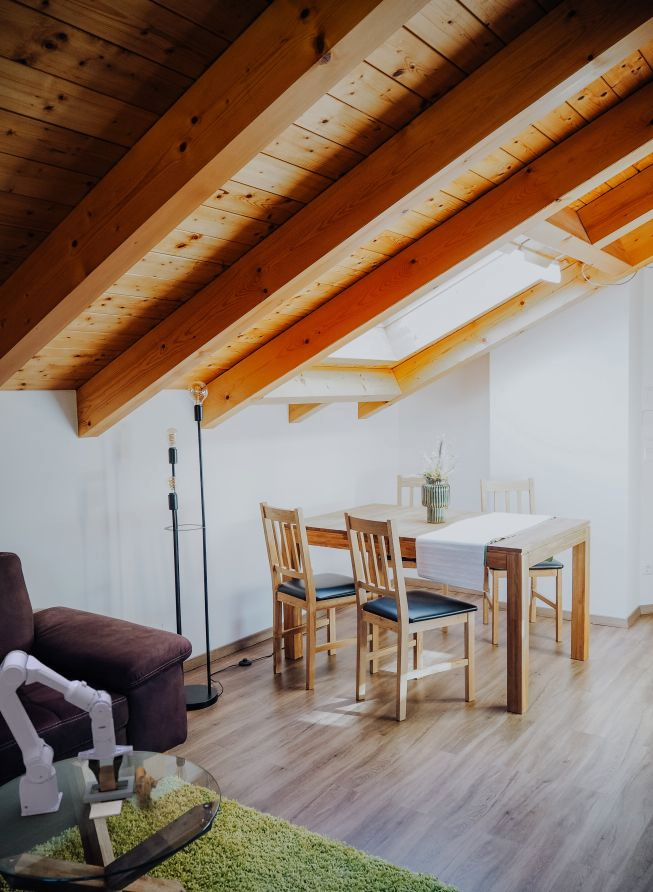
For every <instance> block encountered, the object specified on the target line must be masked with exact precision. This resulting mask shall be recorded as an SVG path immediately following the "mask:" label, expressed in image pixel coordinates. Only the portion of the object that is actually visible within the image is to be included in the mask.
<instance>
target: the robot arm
mask: <svg viewBox="0 0 653 892" xmlns="http://www.w3.org/2000/svg"><path fill="white" fill-rule="evenodd" d="M24 682H25V684H24V685H25V686H26V685H27V686H28V685H30V684H33V683H36V682H38V683H40V684H42V685H45V686H47V687H49V688H50V689H53V690H55V691H57V692H59V693H61V694H63V696H64V700H65V701H67V702H69V703H71V704H72V705H74V706H76V707H77V708H79V709H81V710H83V711H85V712H88V714H89V715H88V716H89V718H90V719H91V732H92V739H93V741H92V743H93V748H90V749H88V750H84V751H80V752H78V755H77V760H78V761H77V762H78V763H83V761H84V762H85V761H88V764H87V767H88V769H89V770H90V771H91V772H92V774H93V775H94V777H95V778H96V781H97V782H98V784H100V780H99V772H100V768H101V761H103V760H109V759H112V758H113V760H112V765H113V766H114V771H115V782H118V779H119V778H120V775H119V774H120V769H121V766H122V763H123V759H124V756H128V757H132V756H133V754H134V749H133V745H116V735H115V727H114V719H113V709H112V697H111V695H110V694H109V693H108V692H107V691H106V690H96V689H94V688H92V687H91V686H89V685H87V682H86V681H84V680H82V681H79V680H72V681H71V680H68V679H67V678H65V677H64V676H62V675H61V674H59V673H57V672H56V671H54V670H53V669H51V668H50V667H48V666H46V665H45V664H43V663H42V662H40V660H38V659H37V658H36V657H34V656H33V655H31V654H30V655H29V654H27V653H26V652H25V651H22V650H12V651H10V652H9V653H8V654H6V656H5V657H4V659H3V661H2V663H1V664H0V712H1V714H2V716H3V718H4V720H5V722H6V723H7V726H8V727H9V729H10V731H11V734H12V735H13V737H14V740H15V741H16V742H17V744H18V747H19V748H20V750H21V753H22V758H23V764H24V766H25V768H26V772H25V775H24V776H21V778H20V781H19V786H18V787H19V788H18V789H19V790H18V791H19V792H18V794H19V801H20V807H21V808H20V809H21V814H20V815H21V817H26V816H33V815H40V814H49V813H54V812H57V811H59V809H60V804H61V802H62V799H63V795H64V792H61V791H60V792H59V788H58V779H57V773H56V772H57V771H56V769H55V767H54V765H53V760H54V759H53V758H54V757H55V756H54V749H53V748H52V746H50V745H49V744H47V743H46V742H45V740H44V738H40V737H39V735H38V733H37V731H36V729H35V727H34V724H33V723H32V721H31V720H30V718H29V715H28V714H27V712H26V710H25V707H24V706H23V704H22V702H21V701H20V698H19V697H18V694H17V692H16V691H17V689H18V688H19V687H20V686H21V685H22V684H23V683H24ZM100 760H101V761H100Z"/></svg>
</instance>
